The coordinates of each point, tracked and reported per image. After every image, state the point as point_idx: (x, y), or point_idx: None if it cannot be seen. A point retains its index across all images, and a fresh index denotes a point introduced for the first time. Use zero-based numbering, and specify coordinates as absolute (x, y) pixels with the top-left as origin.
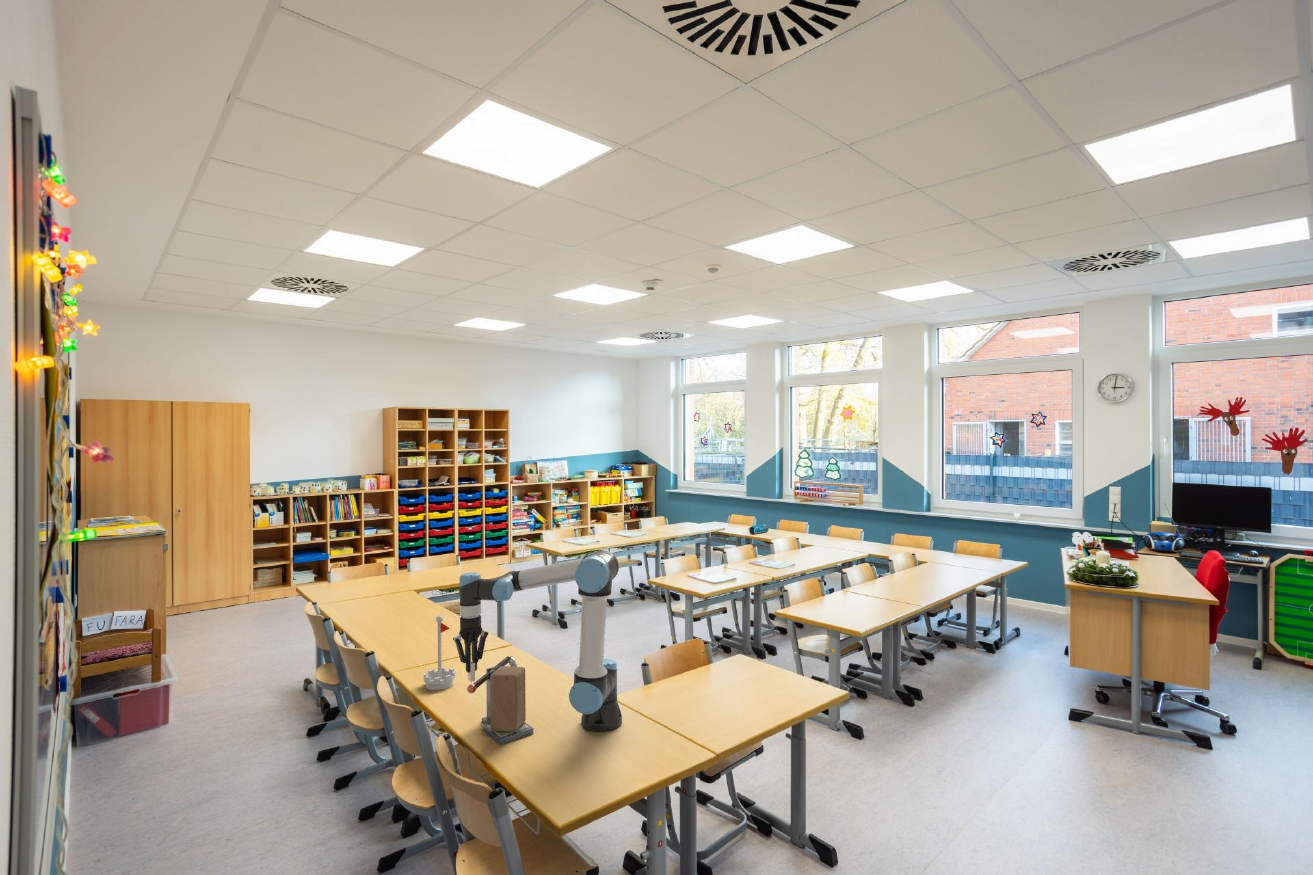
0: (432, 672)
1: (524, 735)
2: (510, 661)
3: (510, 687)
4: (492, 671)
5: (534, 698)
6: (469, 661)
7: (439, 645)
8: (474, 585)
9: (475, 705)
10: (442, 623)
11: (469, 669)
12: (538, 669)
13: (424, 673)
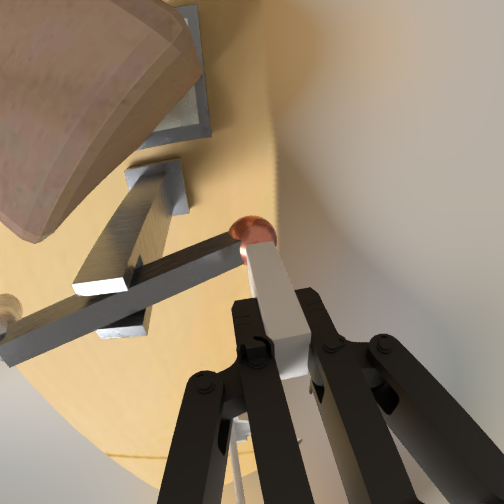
0: (239, 436)
1: None
2: (2, 323)
3: None
4: (113, 278)
5: (33, 278)
6: (334, 349)
7: (239, 482)
8: None
9: (180, 314)
10: None
11: (303, 303)
12: (41, 388)
13: None
